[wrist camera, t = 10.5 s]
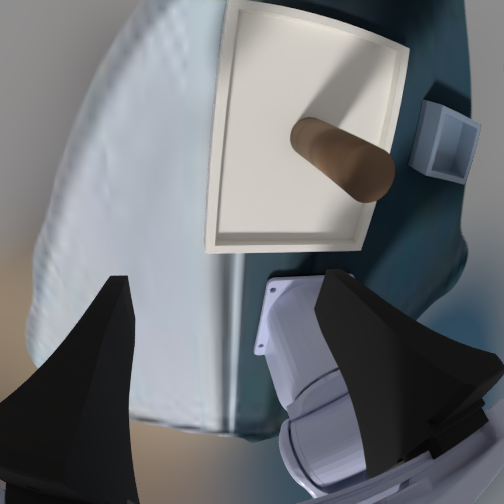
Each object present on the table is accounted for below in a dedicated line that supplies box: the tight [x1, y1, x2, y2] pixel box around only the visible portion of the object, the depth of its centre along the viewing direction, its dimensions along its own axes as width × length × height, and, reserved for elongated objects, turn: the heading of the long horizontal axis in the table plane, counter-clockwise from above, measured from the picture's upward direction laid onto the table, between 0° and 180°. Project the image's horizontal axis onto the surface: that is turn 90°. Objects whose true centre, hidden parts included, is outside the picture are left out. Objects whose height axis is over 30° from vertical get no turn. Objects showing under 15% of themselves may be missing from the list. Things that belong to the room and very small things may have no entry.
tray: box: [204, 0, 410, 254], centre depth 17 cm, size 16×12×1 cm
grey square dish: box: [408, 100, 481, 185], centre depth 19 cm, size 6×6×2 cm
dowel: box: [290, 117, 395, 203], centre depth 15 cm, size 3×3×7 cm
